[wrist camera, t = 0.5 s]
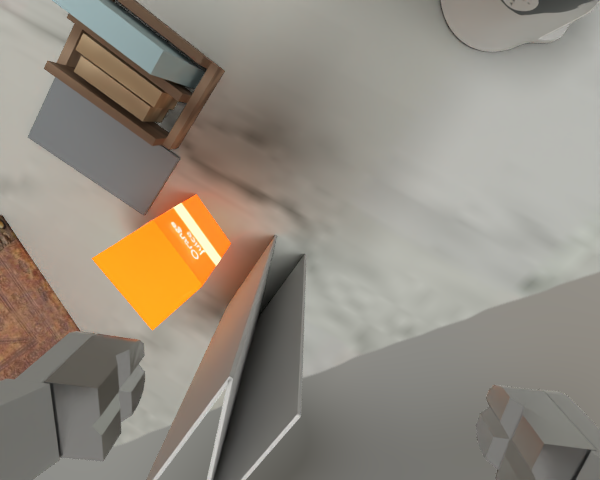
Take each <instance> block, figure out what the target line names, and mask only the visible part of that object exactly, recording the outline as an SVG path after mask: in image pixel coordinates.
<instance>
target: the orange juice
mask: <svg viewBox="0 0 600 480" xmlns="http://www.w3.org/2000/svg"><path fill="white" fill-rule="evenodd" d="M230 245H231V243H230V241H229V240H228V239H227V237H226V236H225V234H224V233H223V231H222V230H221V229H220V227H219V226H218V224H217V223H216V221H215V220H214V219H213V217H212V216H211V214H210V213H209V212H208V210H207V209H206V207H205V206H204V204H203V203H202V202H201V200H200V199H199V197H198V196H197V194H196V195H194V196H193V197H191V198H189V199H187V200H186V201H184V202H182V203H180V204H178V205H177V206H175V207H173V208H172V209H170V210H168V211H167V212H165V213H164V214H162V215H160V216H159V217H156V218H155V219H154V220H152V221H150V222H149V223H147V224H146V225H143V226H142V227H141V228H139V229H138V230H136V231H135V232H133V233H132V234H130V235H128V236H127V237H125V238H124V239H122V240H121V241H119V242H118V243H116V244H114V245H113V246H111V247H110V248H108V249H106V250H105V251H103V252H101V253H100V254H98V255H97V256H95V257H93V258H92V259H93V260H94V262H95V263H96V264H97V265H98V266H99V268H100V269H101V270H102V271H103V272H104V274H105V275H106V276H107V277H108V278H109V279H110V281H111V282H112V283H113V284H114V285H115V287H116V288H117V289H118V290H119V291H120V293H121V294H122V295H123V296H124V297H125V298H126V300H127V301H128V302H129V303H130V304H131V306H132V307H133V308H134V309H135V310H136V312H137V313H138V314H139V315H140V316H141V318H142V319H143V320H144V321H145V322H146V323H147V325H148V326H149V327H150V328H151V329H152V330H153V329H155V328H156V327H157V326H158V325H159V324H160V323H161V322H162V321H164V320H165V319H166V318H167V317H168V316H169V315H170V314H171V313H173V312H174V311H175V310H176V309H177V308H178V307H179V306H180V305H182V304H183V303H184V302H185V301H186V300H187V299H188V298H189V297H191V296H192V295H193V294H194V293H195V292H196V291H197V290H198V289H200V288H201V287H202V286H203V284H204V283H205V281H206V280H207V278H208V277H209V275H210V274H211V272H212V271H213V269H214V268H215V267H216V266H217V264H218V263H219V261H220V260H221V258H222V256H223V255H224V253H225V252H226V250H227V249H228V247H229V246H230Z"/></svg>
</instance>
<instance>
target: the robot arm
mask: <svg viewBox="0 0 600 480" xmlns="http://www.w3.org/2000/svg"><path fill="white" fill-rule="evenodd" d="M598 1H599V0H441V5H442V10H443V13H444V17H445V19H446V21H447V23H448V25H449V27H450V29H451V30H452V32H453V33H454V34H455V35H456V36H457V37H458V38H459V39H460V40H461V41H462V42H464V43H465V44H467V45H468V46H470V47H472V48H475V49H477V50H481V51H488V52H498V51H505V50H509V49H512V48H515V47H517V46H520V45H522V44H526V43H530V42H531V43H551V42H553V41H555V40H557V39H559V38H560V37H562V36H563V34H564V33H565V32H566V30H567V28H568V27H569V25H570V24H571V23H572V22H574V21H576V20H578V19H579V18H581V17H583V16H585V15H587V14H589V13H590V12H592V11H593V10H594V9H595V8H597V6H598ZM143 357H144V343H143V342H142V341H141V340H137V339H130V338H123V337H116V336H110V335H103V334H95V333H88V332H80V331H74V332H70V333H68V334H67V335H66V336H65V337H64V338H63V339H61V340H60V341H59V342H58V343H57V344H56V345H54V346H53V347H52V348H51V349H50V350H48V351H47V352H46V353H45V354H44V355H43V356H41V357H40V358H39V359H38V360H37V361H36V362H34V363H33V364H32V365H31V366H30V367H29V368H27V369H26V370H25V371H24V372H23V373H22V374H20V375H19V376H18V377H17V378H16V379H4V380H2V381H0V480H33V479H34V478H36V477H37V476H38V475H40V474H41V473H43V472H44V471H45V470H47V469H48V468H49V467H51V466H52V465H54V464H55V463H56V462H58V461H59V460H60V457H61V458H73V459H85V460H95V461H104V459H105V458H106V456H107V455H108V453H109V451H110V450H111V448H112V447H113V445H114V444H115V442H116V440H117V439H118V437H119V435H120V434H121V422H122V421H123V420H125V419H127V418H128V417H130V416H132V414H133V413H134V411H135V409H136V408H137V406H138V404H139V401H140V399H141V396H142V393H143V389H144V383H145V371H144V370H143V369H142V367H141V366H140V365H139V363H140V361H141V360H142V358H143ZM486 400H487V402H488V405H489V407H488V408H487V409H485V410H484V411H483V412H481V413H480V415H479V418H478V421H477V425H476V430H477V440H478V443H479V447H480V450H481V452H482V454H483V456H484V458H485V459H486V460H487V461H488V462H489V463H491V464H492V465H493V466H494V467H495V468H496V469H497V473H496V477H495V478H496V480H600V428H599V427H597V425H595V424H594V422H593V421H592V420H591V419H590V418H589V417H588V416H587V415H586V414H585V413H584V412H583V411H582V410H581V409H580V408H579V407H578V405H577V404H575V402H574V401H573V400H572V399H571V398H570V397H569V396H567V395H565V394H564V393H562V392H559V391H549V390H539V389H538V390H532V389H525V388H516V387H508V386H499V385H494V386H493V387H492V388H490V390H489V392H488V394H487V397H486Z"/></svg>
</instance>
